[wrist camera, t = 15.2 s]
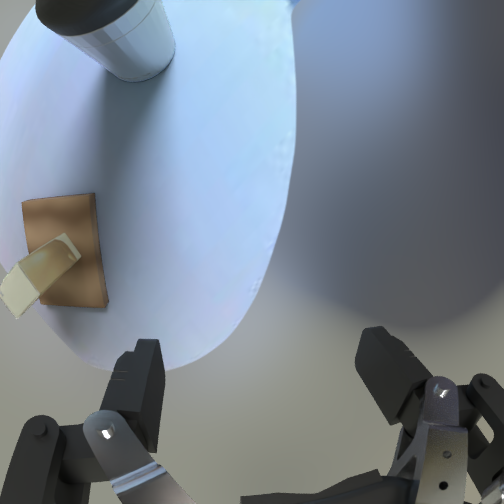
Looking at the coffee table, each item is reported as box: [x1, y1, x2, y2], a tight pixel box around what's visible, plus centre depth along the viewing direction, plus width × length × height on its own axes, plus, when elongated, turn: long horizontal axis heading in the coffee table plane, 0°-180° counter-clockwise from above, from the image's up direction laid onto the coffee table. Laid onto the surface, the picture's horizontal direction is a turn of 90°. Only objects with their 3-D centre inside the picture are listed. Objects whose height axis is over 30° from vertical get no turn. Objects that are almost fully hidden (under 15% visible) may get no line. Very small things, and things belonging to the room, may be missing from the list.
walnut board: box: [22, 193, 109, 308], centre depth 34 cm, size 16×12×2 cm
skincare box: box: [0, 233, 81, 319], centre depth 28 cm, size 6×4×12 cm
